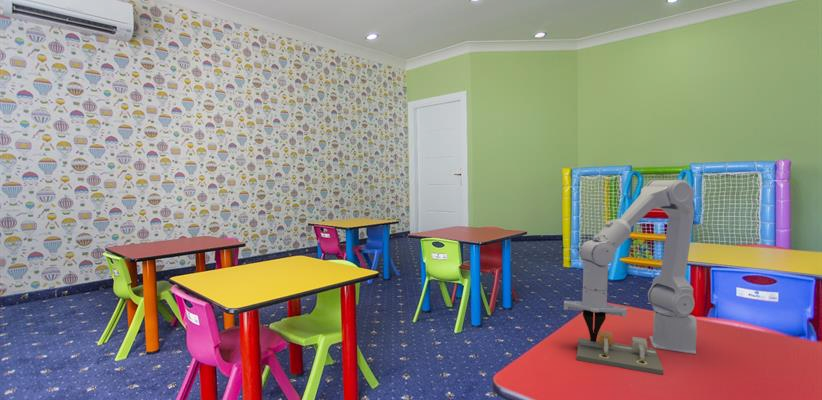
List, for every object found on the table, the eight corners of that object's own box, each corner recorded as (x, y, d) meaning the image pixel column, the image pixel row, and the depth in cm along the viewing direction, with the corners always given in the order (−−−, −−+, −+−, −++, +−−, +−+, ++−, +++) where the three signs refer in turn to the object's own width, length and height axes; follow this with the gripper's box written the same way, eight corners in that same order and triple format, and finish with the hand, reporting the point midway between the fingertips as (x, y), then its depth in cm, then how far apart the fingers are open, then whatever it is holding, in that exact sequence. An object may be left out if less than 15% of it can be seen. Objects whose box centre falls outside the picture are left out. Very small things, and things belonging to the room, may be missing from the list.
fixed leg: (645, 350, 102) (645, 338, 102) (649, 363, 95) (650, 350, 95) (631, 348, 104) (632, 336, 103) (634, 360, 96) (635, 348, 96)
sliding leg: (611, 344, 105) (611, 332, 105) (612, 356, 98) (613, 343, 98) (598, 342, 107) (598, 330, 106) (599, 354, 99) (599, 341, 99)
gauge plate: (655, 352, 104) (655, 345, 104) (663, 374, 92) (663, 366, 92) (578, 341, 111) (578, 334, 111) (576, 359, 99) (576, 352, 99)
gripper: (563, 288, 104) (562, 341, 105) (628, 295, 98) (626, 351, 99) (565, 282, 111) (563, 331, 111) (626, 288, 105) (624, 340, 106)
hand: (593, 340), depth 106 cm, fingers closed
